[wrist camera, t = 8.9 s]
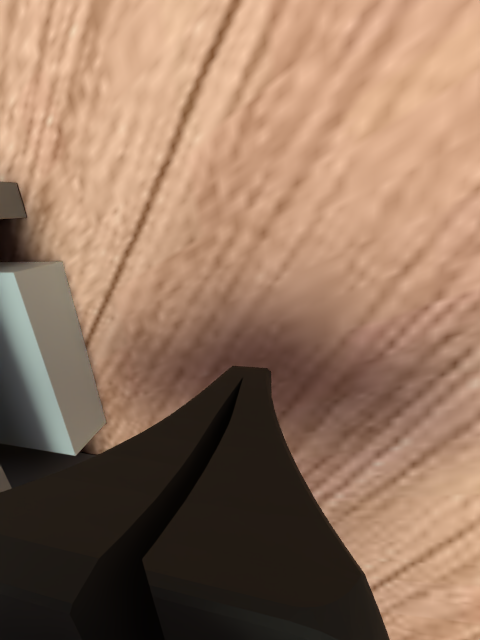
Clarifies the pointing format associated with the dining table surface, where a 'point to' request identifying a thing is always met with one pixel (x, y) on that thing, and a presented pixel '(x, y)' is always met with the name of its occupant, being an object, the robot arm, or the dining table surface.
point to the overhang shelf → (13, 461)
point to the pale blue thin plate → (44, 362)
